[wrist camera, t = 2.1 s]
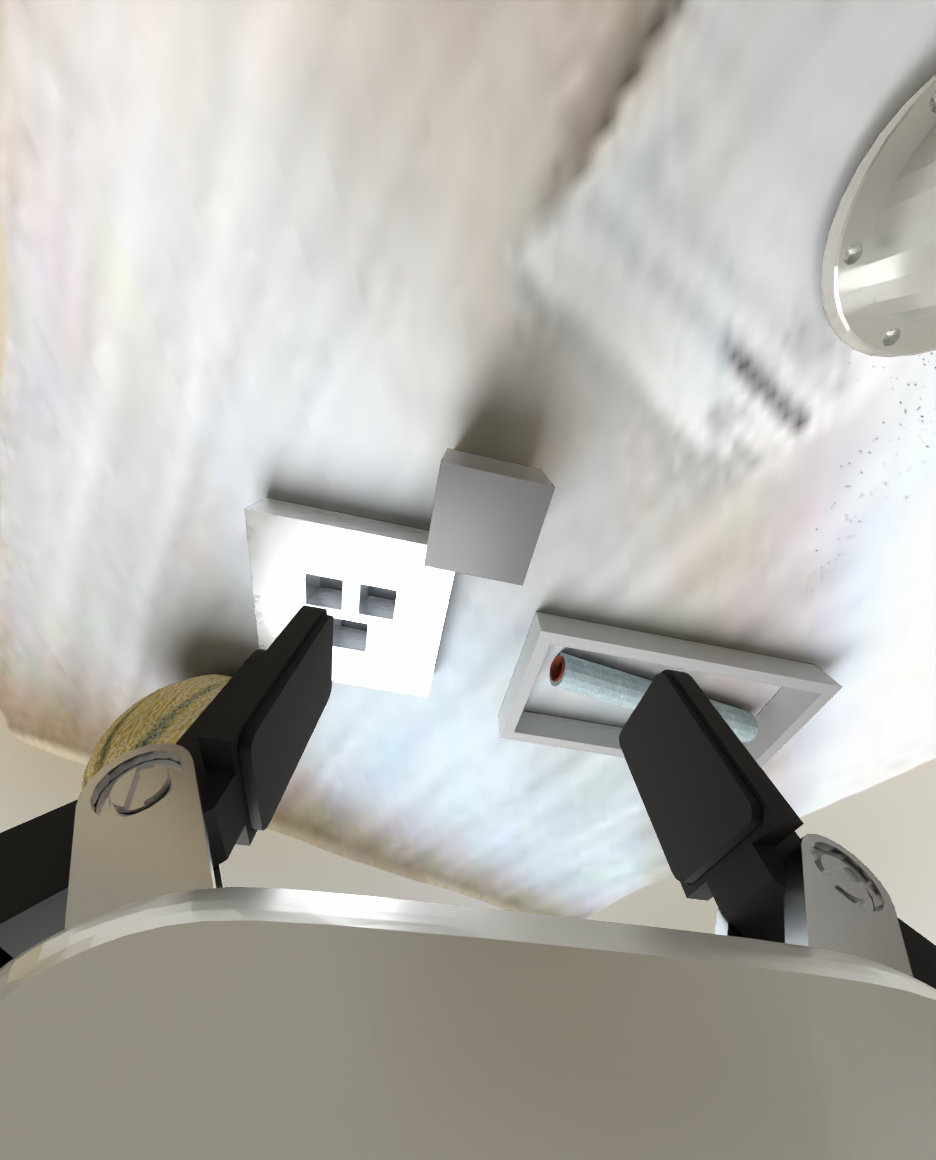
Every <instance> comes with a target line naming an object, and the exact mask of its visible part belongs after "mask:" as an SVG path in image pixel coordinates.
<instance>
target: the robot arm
mask: <svg viewBox="0 0 936 1160" xmlns="http://www.w3.org/2000/svg"><path fill="white" fill-rule="evenodd" d="M821 291H822V300H823V307H824V310H825V313H826V316H827V319H828V321H829V324H830V326H831V327H832V329H833V330H834V332H835V333H836V334H837V336H838V337H839V339H840V340H841V341H843V342H844V343H845V344H847V345H848V346H849V347H851V348H852V349H854V350H856V351H859V352H862V353H865V354H867V355H870V356H882V357H895V356H906V355H916V354H921V353H925V352H929V351H934V350H936V74H935V75H934V76H933V77H932V78H931V79H930V80H929V81H928V82H927V83H926V84H924V85H923V86H922V87H921V88H920V89H919V90H918V91H917V92H916V93H915V94H914V95H913V96H912V97H911V98H910V99H909V100H908V101H907V102H906V103H905V104H904V105H903V107H902V108H901V109H900V110H899V111H898V113H897V114H896V115H895V116H894V117H893V119H892V120H891V121H890V122H889V123H888V125H887V126H886V127H885V128H884V129H883V131H882V132H881V133H880V134H879V136H878V137H877V139H876V140H875V142H874V143H873V145H872V146H871V148H870V149H869V151H868V152H867V154H866V155H865V157H864V158H863V160H862V161H861V163H860V164H859V166H858V168H857V170H856V172H855V174H854V175H853V177H852V179H851V181H850V183H849V185H848V187H847V189H846V191H845V193H844V195H843V197H842V199H841V201H840V204H839V206H838V209H837V212H836V214H835V217H834V220H833V222H832V225H831V228H830V230H829V235H828V239H827V243H826V247H825V252H824V256H823V263H822V276H821ZM332 657H333V616H332V615H327V610H326V609H324V608H318V607H313V606H307V605H304V606H302V607H301V608H300V609H299V611H298V612H297V613H296V614H295V616H294V617H293V618H292V619H291V620H290V622H289V623H288V624H287V625H286V627H285V628H284V629H283V630H282V632H281V633H280V634H279V635H278V637H277V638H276V639H275V640H274V642H273V643H272V644H271V645H270V646H269V648H268V649H267V650H264V649H258V650H256V651H255V652H254V653H253V654H251V656H250V657H249V658H248V659H247V660H246V661H245V663H244V664H243V665H242V666H241V667H240V668H239V670H238V671H237V672H236V673H235V674H234V675H233V677H232V678H231V679H230V680H229V681H228V683H227V684H226V685H225V686H224V687H223V688H222V690H221V691H220V692H219V693H218V694H217V695H216V697H215V698H214V699H213V700H212V701H211V702H210V704H209V705H208V706H207V707H206V708H205V709H204V711H203V712H202V713H201V714H200V715H199V717H198V718H197V719H196V720H195V721H194V722H193V724H192V725H191V726H190V727H189V728H188V729H187V731H186V732H185V733H184V734H183V735H182V736H181V738H180V739H179V740H178V741H177V742H176V744H171V743H161V744H152V745H148V746H144V747H140V748H137V749H135V750H132V751H130V752H128V753H125V754H123V755H121V756H119V757H118V758H116V759H115V760H113V761H111V762H110V763H108V764H107V765H105V766H104V767H103V768H102V769H101V770H99V771H98V772H97V773H96V774H95V775H94V776H93V777H92V778H91V779H90V780H89V781H88V783H87V784H86V785H85V787H84V788H83V790H82V791H81V792H80V795H79V799H78V800H76V801H74V802H71V803H69V804H66V805H64V806H62V807H60V808H57V809H55V810H53V811H50V812H48V813H46V814H43V815H41V816H39V817H36V818H34V819H32V820H30V821H27V822H25V823H23V824H21V825H18V826H16V827H13V828H11V829H9V830H6V831H4V832H2V833H0V1160H936V946H935V945H934V944H933V943H931V942H930V941H929V940H927V939H926V938H925V937H923V936H922V935H921V934H919V933H918V932H916V931H915V930H914V929H912V928H911V927H910V926H908V925H907V924H906V923H904V922H903V921H902V920H900V919H899V918H897V915H896V911H895V907H894V905H893V903H892V901H891V899H890V896H889V894H888V893H887V891H886V890H885V888H884V887H883V885H882V884H881V882H880V881H879V880H878V879H877V878H876V877H875V876H874V874H873V873H872V872H871V871H870V870H869V869H868V868H867V867H866V866H865V865H864V864H863V863H862V862H861V861H860V860H859V859H858V858H856V857H855V856H854V855H853V854H851V853H850V852H849V851H847V850H846V849H845V848H843V847H842V846H841V845H839V844H837V843H835V842H834V841H832V840H830V839H828V838H826V837H823V836H820V835H817V834H807V835H806V836H804V837H802V838H801V839H800V838H799V836H798V835H797V834H796V832H795V830H796V829H797V828H799V827H800V826H801V825H802V824H803V822H802V821H801V820H800V818H799V817H798V816H797V814H796V813H795V812H794V810H793V809H792V808H791V807H790V805H789V804H788V803H787V801H786V800H785V799H784V797H783V796H782V795H781V793H780V792H779V791H778V789H777V788H776V787H775V786H774V784H773V783H772V782H771V780H770V779H769V778H768V776H767V775H766V774H765V772H764V771H763V770H762V769H761V767H760V766H759V765H758V763H757V762H756V761H755V759H754V758H753V757H752V755H751V754H750V753H749V752H748V750H747V749H746V748H745V746H744V745H743V744H742V742H741V741H740V740H739V738H738V737H737V736H736V734H735V733H734V732H733V731H732V729H731V728H730V727H729V725H728V724H727V723H726V721H725V720H724V719H723V717H722V716H721V715H720V714H719V712H718V711H717V710H716V708H715V707H714V706H713V704H712V703H711V702H710V700H709V699H708V698H707V697H706V695H705V694H704V693H703V691H702V690H701V689H700V687H699V686H698V685H697V683H696V682H695V681H694V679H693V678H692V677H691V676H690V675H689V674H687V673H684V672H679V671H673V670H664V671H662V672H661V674H657V675H656V676H655V678H654V679H653V681H652V683H651V684H650V686H649V687H648V689H647V691H646V692H645V694H644V695H643V697H642V698H641V700H640V702H639V703H638V705H637V706H636V708H635V710H634V711H633V713H632V714H631V716H630V718H629V719H628V721H627V722H626V724H625V726H624V727H623V729H622V730H621V732H620V735H619V744H620V747H621V749H622V752H623V754H624V757H625V759H626V762H627V764H628V766H629V769H630V771H631V774H632V776H633V779H634V781H635V783H636V786H637V788H638V791H639V793H640V796H641V798H642V800H643V803H644V805H645V808H646V810H647V813H648V815H649V817H650V820H651V822H652V825H653V827H654V830H655V832H656V834H657V837H658V839H659V842H660V844H661V846H662V849H663V851H664V854H665V856H666V859H667V861H668V863H669V866H670V868H671V871H672V873H673V875H674V876H675V878H676V879H677V880H679V881H680V883H681V885H682V887H683V889H684V892H685V895H686V897H687V898H691V899H699V900H709V899H711V898H712V897H714V899H715V901H716V903H717V905H718V910H717V918H716V925H715V933H714V934H709V933H700V932H691V931H683V930H674V929H666V928H657V927H649V926H639V925H631V924H622V923H614V922H605V921H596V920H587V919H578V918H569V917H560V916H551V915H542V914H533V913H524V912H515V911H506V910H496V909H487V908H478V907H468V906H458V905H448V904H440V903H430V902H421V901H411V900H402V899H392V898H383V897H374V896H364V895H351V894H340V893H327V892H316V891H304V890H293V889H281V888H245V887H225V888H224V883H223V877H222V871H221V866H220V864H221V863H222V862H224V861H225V860H227V859H228V857H229V855H230V853H231V851H232V849H233V847H234V845H235V844H239V845H249V846H250V844H251V842H252V840H253V838H254V836H255V834H256V832H257V830H265V829H266V828H267V826H268V825H269V823H270V821H271V819H272V817H273V815H274V813H275V811H276V808H277V806H278V804H279V802H280V800H281V798H282V796H283V794H284V792H285V790H286V787H287V785H288V783H289V781H290V779H291V777H292V775H293V773H294V771H295V769H296V766H297V764H298V762H299V760H300V758H301V756H302V754H303V752H304V750H305V748H306V745H307V743H308V741H309V739H310V737H311V735H312V733H313V731H314V729H315V727H316V724H317V722H318V720H319V718H320V716H321V714H322V712H323V710H324V708H325V706H326V703H327V701H328V699H329V696H330V693H331V688H332Z"/></svg>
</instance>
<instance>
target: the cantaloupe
mask: <svg viewBox="0 0 936 1160" xmlns="http://www.w3.org/2000/svg"><path fill="white" fill-rule="evenodd" d="M231 678H232V677H230V676H225V675H218V674H217V675H216V674H210V675H203V676H198V677H193V678H189V679H186V680H183V681H180V682H177V683H175V684H171V685H168V686H166V687H164V688H161V689H158V690H157V691H155V692H153V693H151V694H150V695H148V696H146V697H144V698H143V699H141V700H140V701H138V702H137V703H135V704H134V705H133V706H132V707H130V708H129V709H128V710H126V711H125V712H124V713H123V714H122V715H121V716H120V717H119V718H118V719H116V721H115V722H114V723H113V724H112V725H111V726H110V728H109V729H108V730H107V731H106V732H105V734H104V735H103V736H102V738H101V739H100V740H99V742H98V743H97V745H96V747H95V749H94V751H93V754H92V756H91V758H90V760H89V762H88V765H87V767H86V770H85V773H84V775H83V781H82V790H83V788H84V787H85V785H86V784H87V783H88V781H89V780H90V779H91V778H92V777H93V776H94V775H95V774H96V773H97V772H98V771H99V770H101V769H102V768H103V767H104V766H105V765H107V764H108V763H110V762H111V761H113V760H115V759H116V758H118V757H119V756H121V755H123V754H125V753H128V752H130V751H132V750H135V749H137V748H140V747H144V746H148V745H152V744H161V743H171V744H176V742H177V741H178V740H179V739H180V738H181V736H182V735H183V734H184V733H185V732H186V731H187V729H188V728H189V727H190V726H191V725H192V724H193V722H194V721H195V720H196V719H197V718H198V717H199V715H200V714H201V713H202V712H203V711H204V709H205V708H206V707H207V706H208V705H209V704H210V702H211V701H212V700H213V699H214V698H215V697H216V695H217V694H218V693H219V692H220V691H221V690H222V688H223V687H224V686H225V685H226V684H227V683H228V681H229V680H230V679H231Z"/></svg>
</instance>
